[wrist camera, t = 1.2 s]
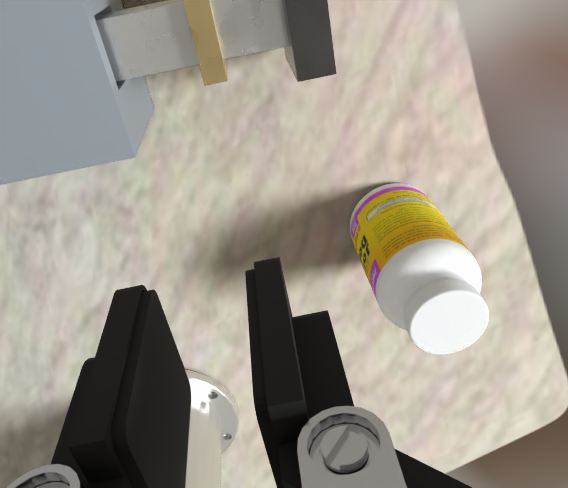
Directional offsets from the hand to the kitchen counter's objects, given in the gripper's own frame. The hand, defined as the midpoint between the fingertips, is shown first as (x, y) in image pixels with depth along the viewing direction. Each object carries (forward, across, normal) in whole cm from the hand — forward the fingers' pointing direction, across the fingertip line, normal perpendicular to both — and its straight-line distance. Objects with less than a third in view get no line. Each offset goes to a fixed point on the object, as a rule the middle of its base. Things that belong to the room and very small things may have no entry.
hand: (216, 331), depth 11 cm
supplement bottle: (+27, -10, +14) cm, 32 cm away
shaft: (+25, +1, -3) cm, 25 cm away
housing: (+27, +9, -3) cm, 29 cm away
